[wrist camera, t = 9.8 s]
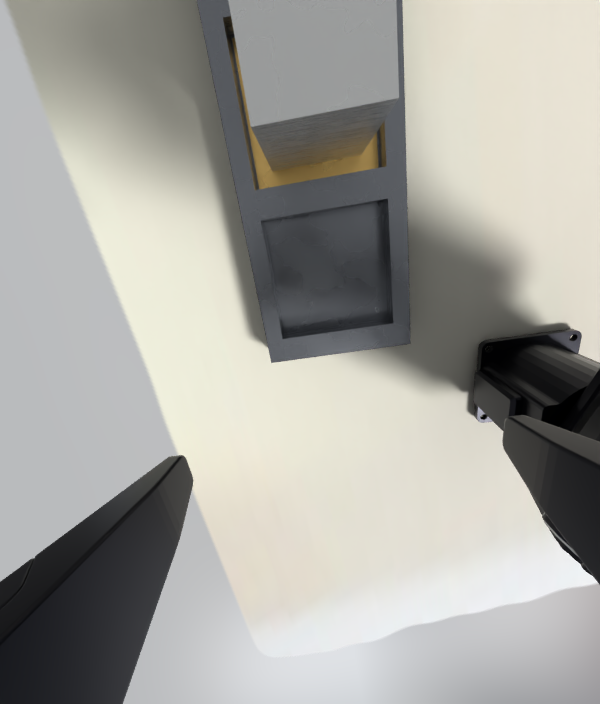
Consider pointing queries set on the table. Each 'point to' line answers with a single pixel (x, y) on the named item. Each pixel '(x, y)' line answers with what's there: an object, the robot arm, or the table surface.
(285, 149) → the metal block
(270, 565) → the table surface
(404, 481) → the table surface
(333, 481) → the table surface
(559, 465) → the robot arm
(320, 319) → the gray compartment tray
